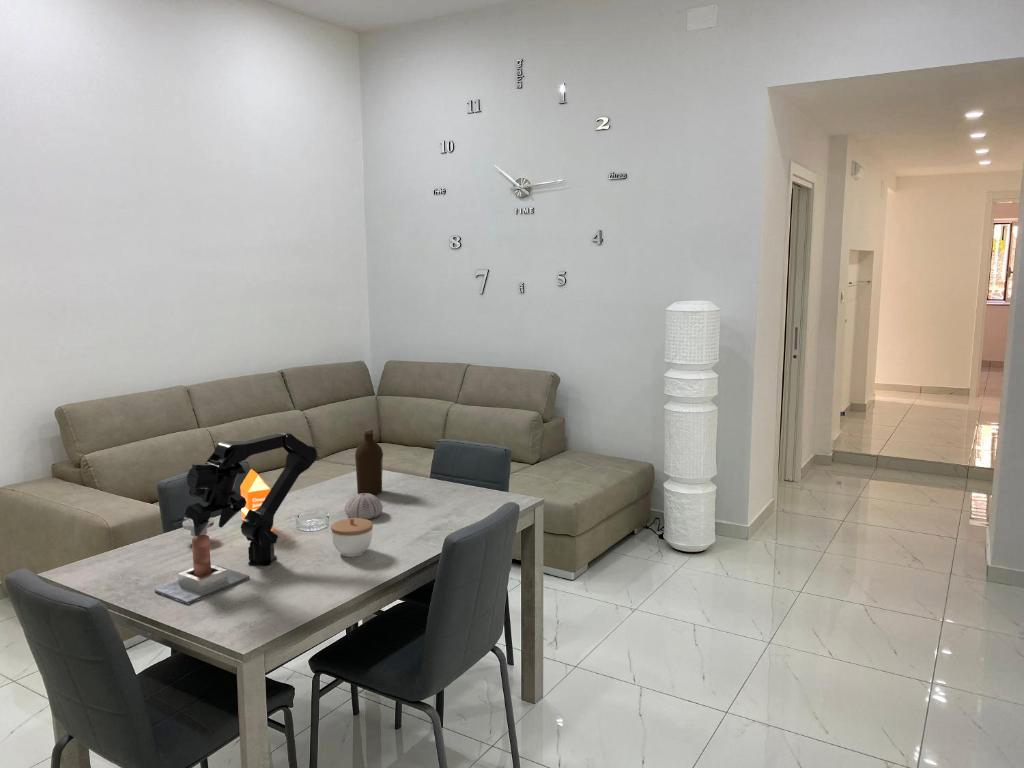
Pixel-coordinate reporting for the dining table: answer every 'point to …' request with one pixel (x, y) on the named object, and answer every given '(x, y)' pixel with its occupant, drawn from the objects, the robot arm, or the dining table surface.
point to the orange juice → (253, 492)
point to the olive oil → (369, 465)
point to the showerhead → (189, 525)
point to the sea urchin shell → (363, 506)
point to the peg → (201, 555)
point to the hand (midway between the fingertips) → (208, 531)
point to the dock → (201, 584)
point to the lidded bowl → (352, 536)
